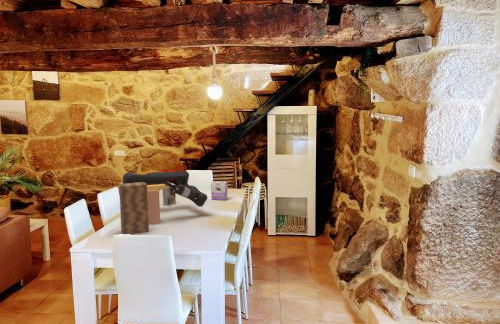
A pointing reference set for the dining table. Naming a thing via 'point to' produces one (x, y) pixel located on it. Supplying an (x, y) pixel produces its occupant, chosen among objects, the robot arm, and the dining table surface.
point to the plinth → (134, 208)
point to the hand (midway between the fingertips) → (163, 181)
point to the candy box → (219, 190)
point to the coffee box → (169, 197)
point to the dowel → (157, 187)
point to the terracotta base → (153, 207)
